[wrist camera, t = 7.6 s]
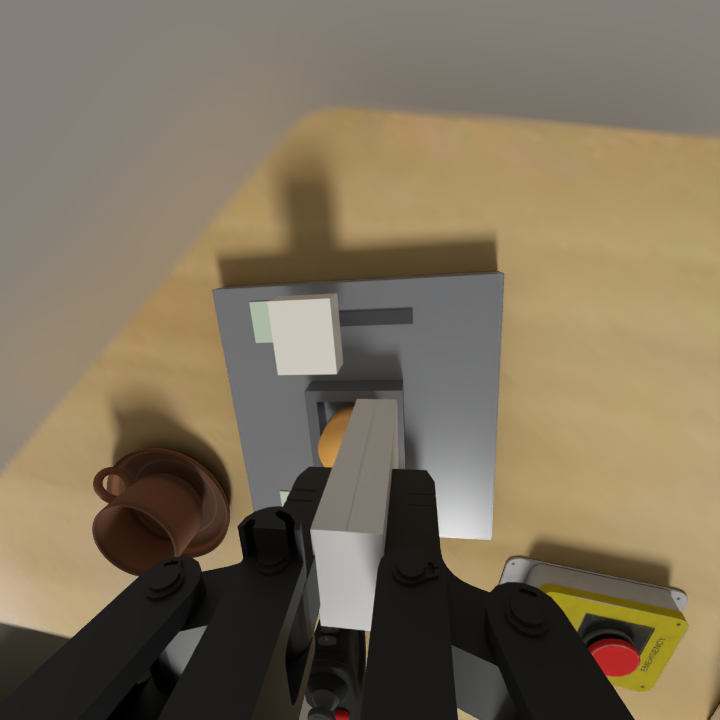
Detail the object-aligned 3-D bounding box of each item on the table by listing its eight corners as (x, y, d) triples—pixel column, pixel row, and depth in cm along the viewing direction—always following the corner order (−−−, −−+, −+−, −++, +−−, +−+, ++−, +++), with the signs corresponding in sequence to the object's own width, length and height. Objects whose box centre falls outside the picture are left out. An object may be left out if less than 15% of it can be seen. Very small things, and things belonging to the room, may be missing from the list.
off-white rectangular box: (345, 287, 24) (329, 298, 20) (350, 351, 26) (336, 374, 21) (293, 290, 25) (267, 301, 21) (300, 352, 26) (277, 375, 22)
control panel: (497, 270, 25) (512, 276, 21) (486, 521, 31) (496, 560, 28) (225, 286, 28) (196, 293, 24) (265, 512, 35) (247, 545, 31)
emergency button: (677, 717, 30) (491, 673, 32) (645, 660, 34) (482, 623, 36) (728, 640, 27) (520, 595, 29) (687, 587, 31) (507, 550, 33)
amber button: (385, 405, 25) (382, 422, 23) (388, 461, 27) (386, 481, 24) (323, 405, 26) (314, 421, 24) (329, 459, 27) (321, 479, 25)
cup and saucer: (107, 503, 37) (51, 551, 32) (143, 415, 33) (86, 452, 28) (210, 561, 38) (173, 620, 32) (258, 482, 34) (225, 532, 28)
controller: (362, 577, 35) (343, 699, 26) (378, 667, 39) (367, 803, 30) (319, 576, 36) (285, 695, 27) (339, 664, 40) (315, 796, 30)
